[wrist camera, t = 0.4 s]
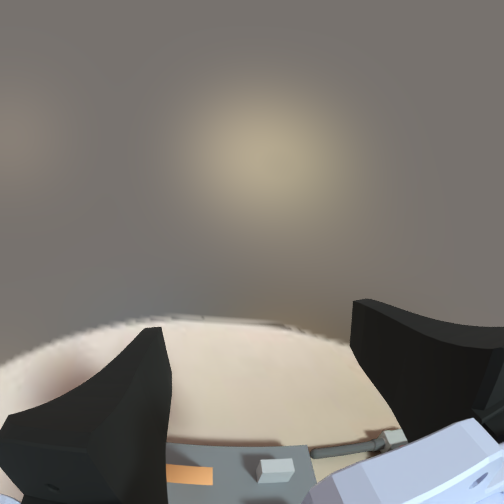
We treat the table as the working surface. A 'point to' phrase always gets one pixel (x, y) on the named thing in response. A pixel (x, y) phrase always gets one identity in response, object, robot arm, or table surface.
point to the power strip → (243, 474)
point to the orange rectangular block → (189, 474)
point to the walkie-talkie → (365, 445)
